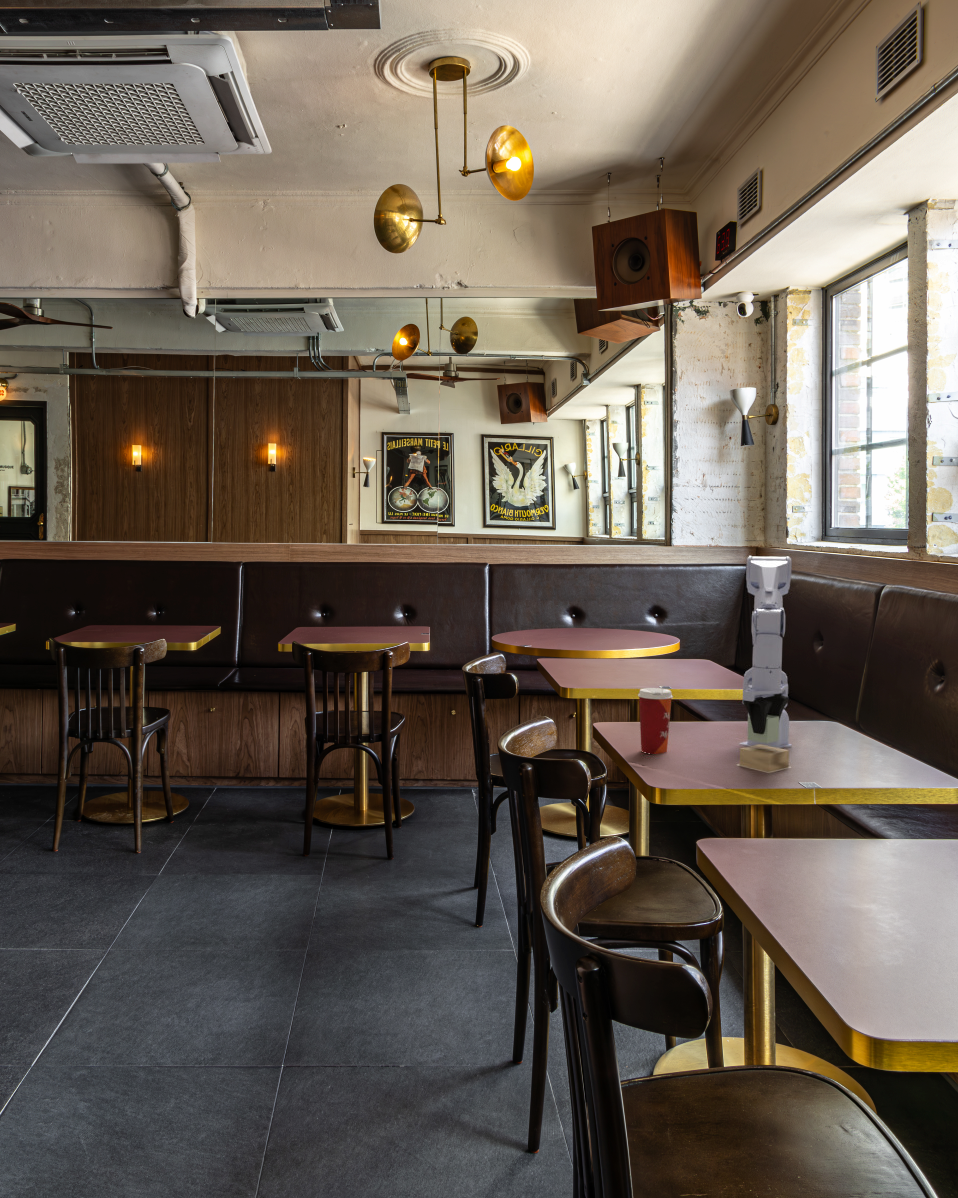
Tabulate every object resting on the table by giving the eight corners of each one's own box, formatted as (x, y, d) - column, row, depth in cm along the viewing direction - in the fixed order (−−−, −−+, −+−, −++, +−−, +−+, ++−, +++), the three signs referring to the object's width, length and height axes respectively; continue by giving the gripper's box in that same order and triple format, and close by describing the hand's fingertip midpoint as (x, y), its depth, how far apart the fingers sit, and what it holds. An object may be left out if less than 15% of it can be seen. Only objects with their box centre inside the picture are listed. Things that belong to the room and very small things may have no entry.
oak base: (759, 760, 186) (760, 744, 186) (788, 767, 181) (789, 750, 181) (739, 765, 182) (739, 748, 182) (768, 772, 177) (768, 755, 176)
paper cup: (674, 756, 191) (676, 693, 190) (639, 756, 191) (640, 692, 190) (667, 748, 199) (669, 687, 198) (634, 747, 199) (635, 687, 198)
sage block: (758, 737, 185) (759, 713, 184) (778, 740, 181) (779, 716, 181) (747, 740, 182) (748, 716, 181) (767, 743, 178) (767, 719, 178)
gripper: (767, 662, 188) (765, 724, 189) (730, 667, 178) (728, 733, 179) (798, 665, 183) (796, 729, 184) (762, 671, 173) (760, 739, 174)
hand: (764, 731), depth 181 cm, fingers closed on sage block, 4 cm apart
